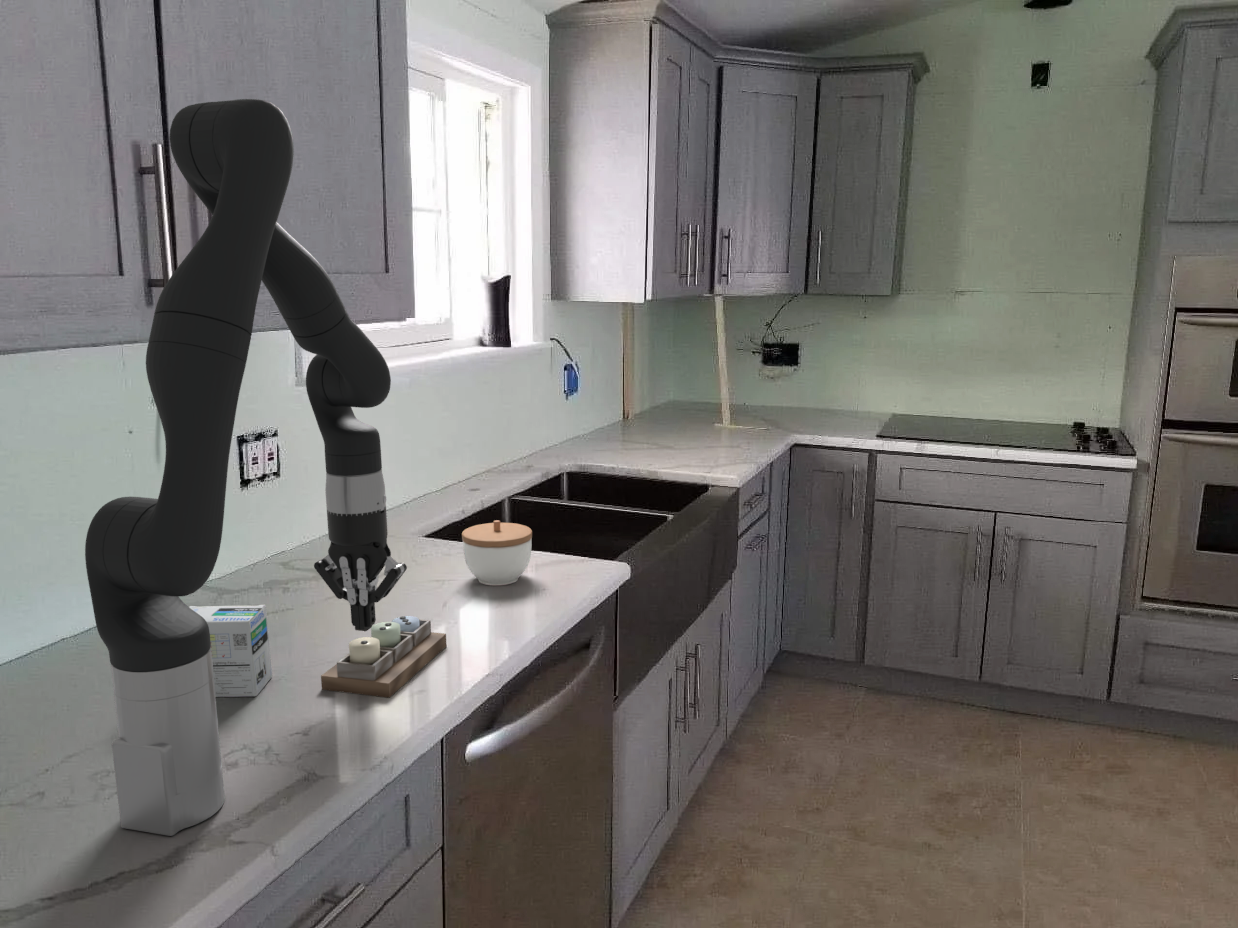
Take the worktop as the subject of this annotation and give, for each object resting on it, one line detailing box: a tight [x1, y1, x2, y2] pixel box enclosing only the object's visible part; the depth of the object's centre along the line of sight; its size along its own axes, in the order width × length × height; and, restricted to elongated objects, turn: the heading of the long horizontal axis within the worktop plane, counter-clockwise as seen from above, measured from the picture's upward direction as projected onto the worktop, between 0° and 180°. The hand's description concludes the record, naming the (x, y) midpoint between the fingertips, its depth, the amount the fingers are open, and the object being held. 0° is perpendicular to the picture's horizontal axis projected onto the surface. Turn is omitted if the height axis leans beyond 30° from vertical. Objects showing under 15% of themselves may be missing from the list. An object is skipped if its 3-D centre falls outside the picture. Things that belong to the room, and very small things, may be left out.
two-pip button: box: [370, 621, 401, 648], centre depth 134 cm, size 4×4×3 cm
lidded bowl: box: [461, 519, 533, 587], centre depth 172 cm, size 13×13×11 cm
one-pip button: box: [348, 636, 380, 665], centre depth 128 cm, size 4×4×3 cm
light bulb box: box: [188, 604, 273, 698], centre depth 127 cm, size 11×7×11 cm, turn 92°
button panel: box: [320, 616, 447, 699], centre depth 135 cm, size 18×10×4 cm, turn 166°
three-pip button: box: [391, 615, 420, 632], centre depth 140 cm, size 4×4×3 cm
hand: (364, 628), depth 128 cm, fingers closed
